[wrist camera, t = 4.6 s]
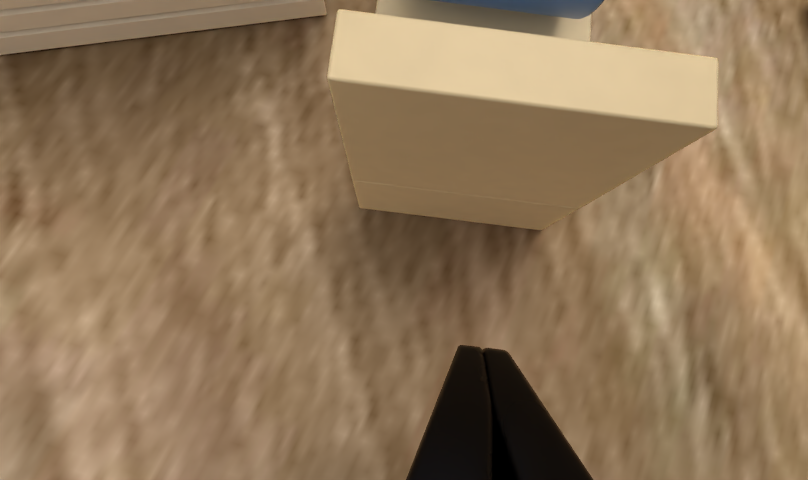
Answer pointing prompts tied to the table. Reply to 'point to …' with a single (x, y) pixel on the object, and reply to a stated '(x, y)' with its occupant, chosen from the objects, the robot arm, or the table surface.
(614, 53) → the tape dispenser
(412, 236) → the table surface
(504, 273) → the table surface
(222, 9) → the stack of papers
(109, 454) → the table surface
